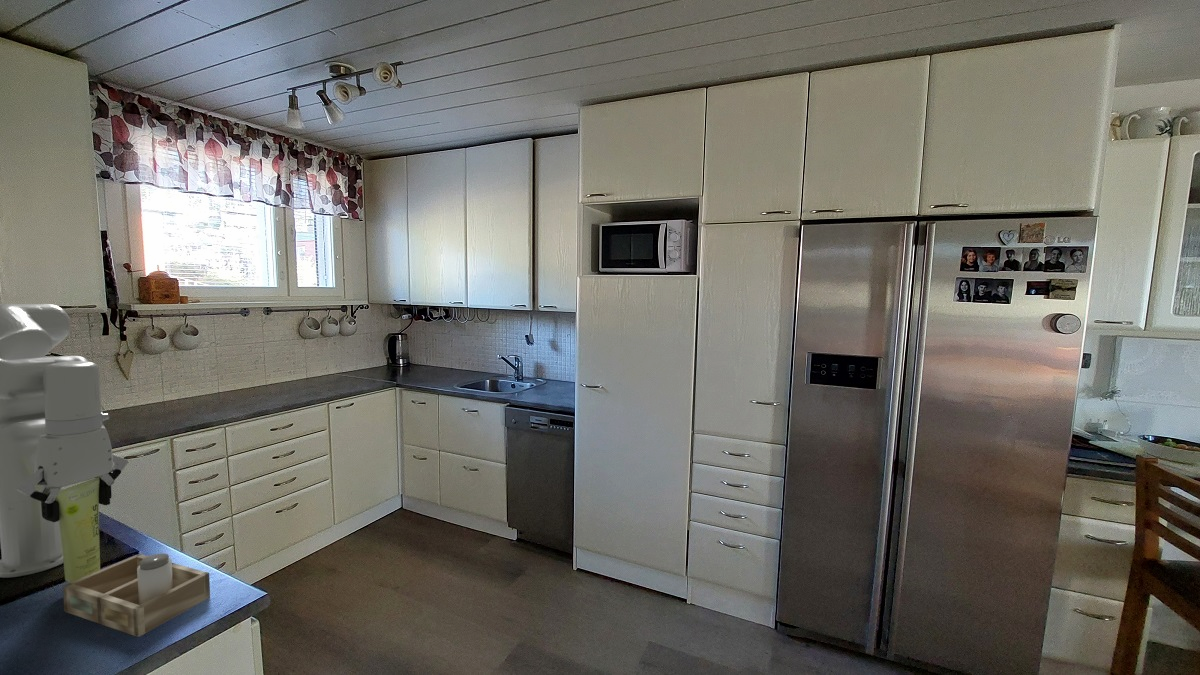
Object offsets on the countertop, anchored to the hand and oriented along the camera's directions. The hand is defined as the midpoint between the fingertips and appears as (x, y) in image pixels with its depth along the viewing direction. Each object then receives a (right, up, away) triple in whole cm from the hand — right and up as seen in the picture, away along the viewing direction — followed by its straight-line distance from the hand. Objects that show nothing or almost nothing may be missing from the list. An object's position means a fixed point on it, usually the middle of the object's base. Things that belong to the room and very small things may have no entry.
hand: (78, 511), depth 98 cm
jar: (+20, -17, -5) cm, 27 cm away
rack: (+15, -18, -3) cm, 24 cm away
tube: (-1, -14, +1) cm, 14 cm away
